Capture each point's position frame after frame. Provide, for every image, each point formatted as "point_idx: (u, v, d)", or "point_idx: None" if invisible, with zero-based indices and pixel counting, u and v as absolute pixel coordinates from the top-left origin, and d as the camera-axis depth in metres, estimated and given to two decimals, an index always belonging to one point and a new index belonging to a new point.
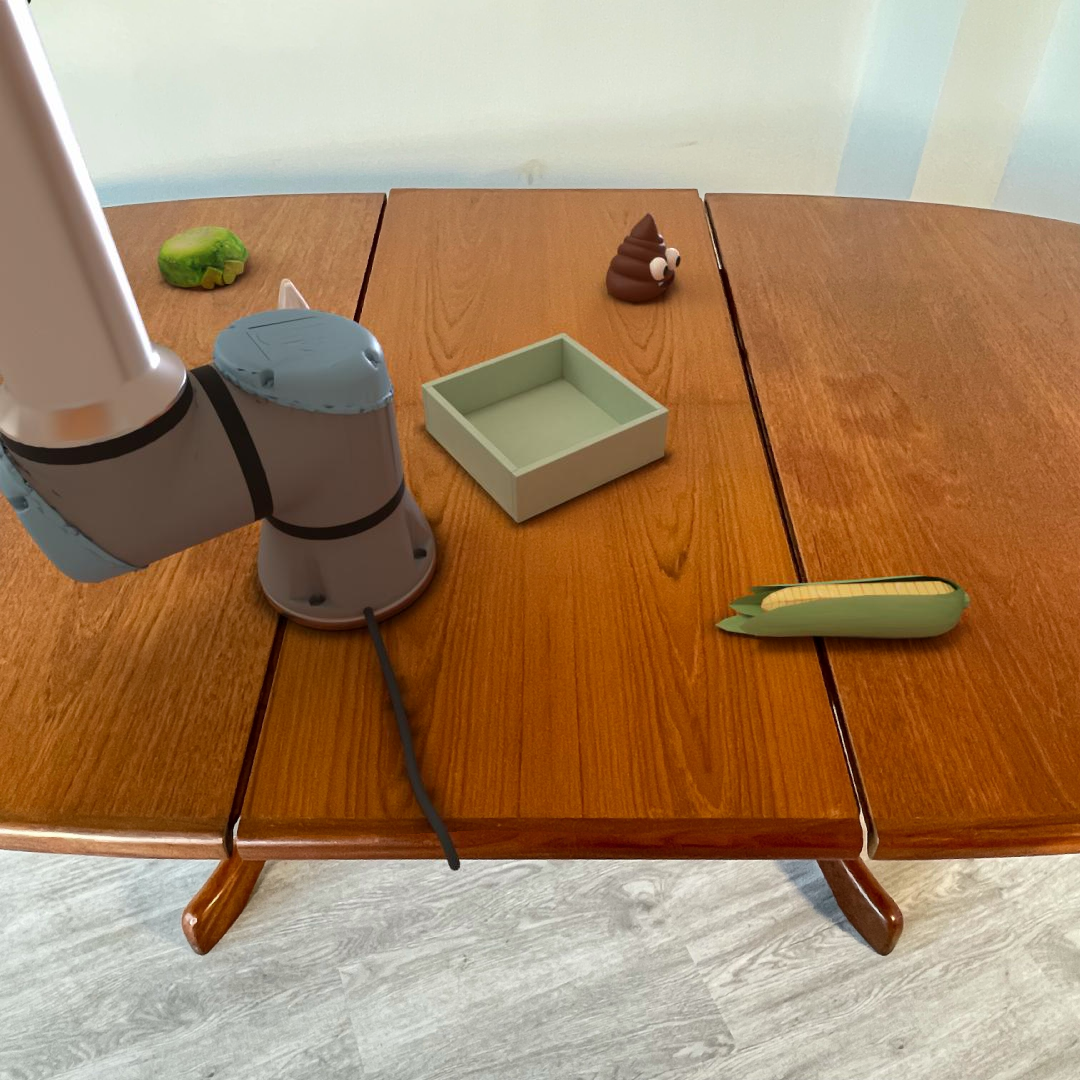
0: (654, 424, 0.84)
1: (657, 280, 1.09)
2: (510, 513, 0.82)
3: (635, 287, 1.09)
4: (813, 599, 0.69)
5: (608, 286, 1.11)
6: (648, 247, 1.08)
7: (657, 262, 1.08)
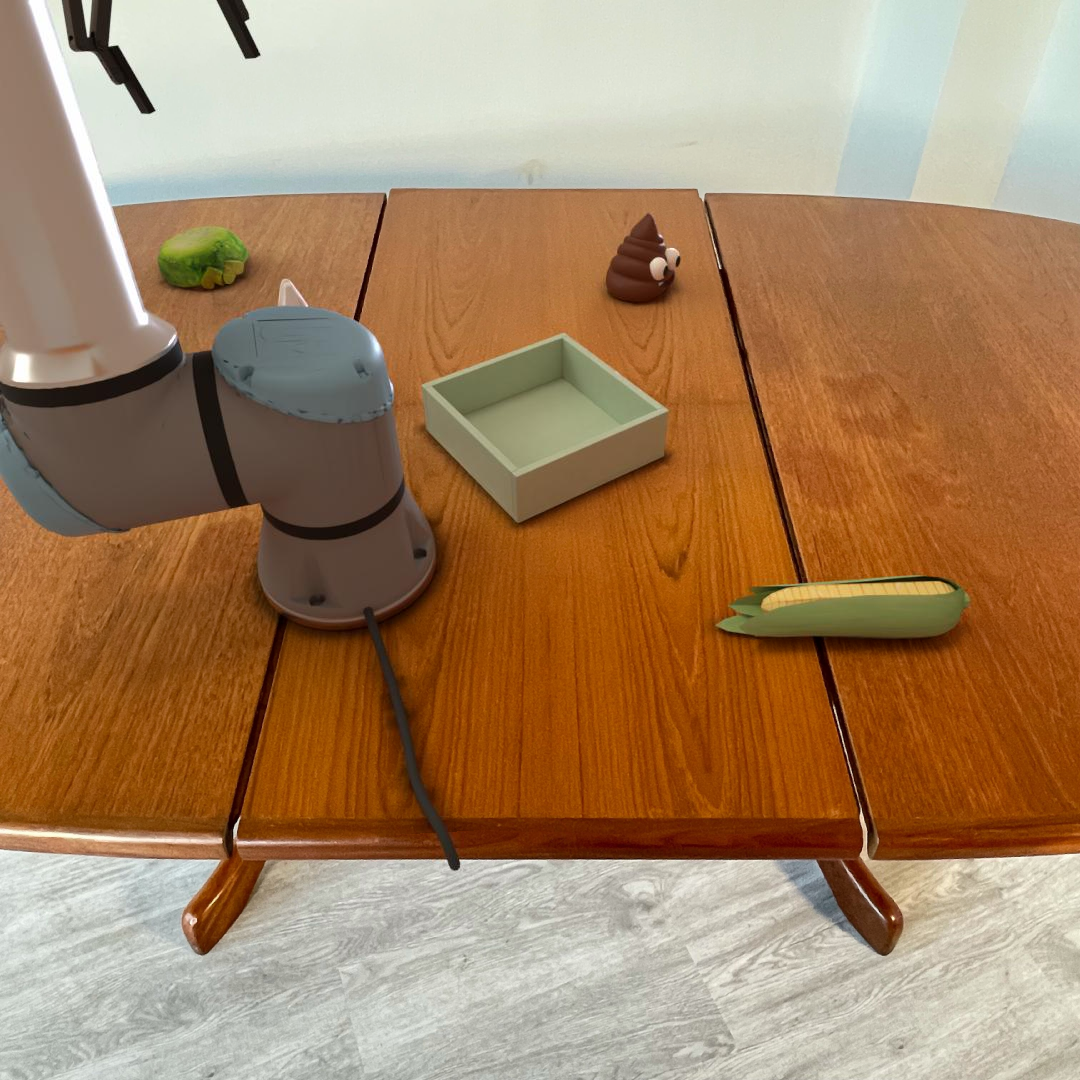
0: (654, 424, 0.84)
1: (657, 280, 1.09)
2: (510, 513, 0.82)
3: (635, 287, 1.09)
4: (813, 600, 0.69)
5: (608, 286, 1.11)
6: (648, 247, 1.08)
7: (657, 262, 1.08)
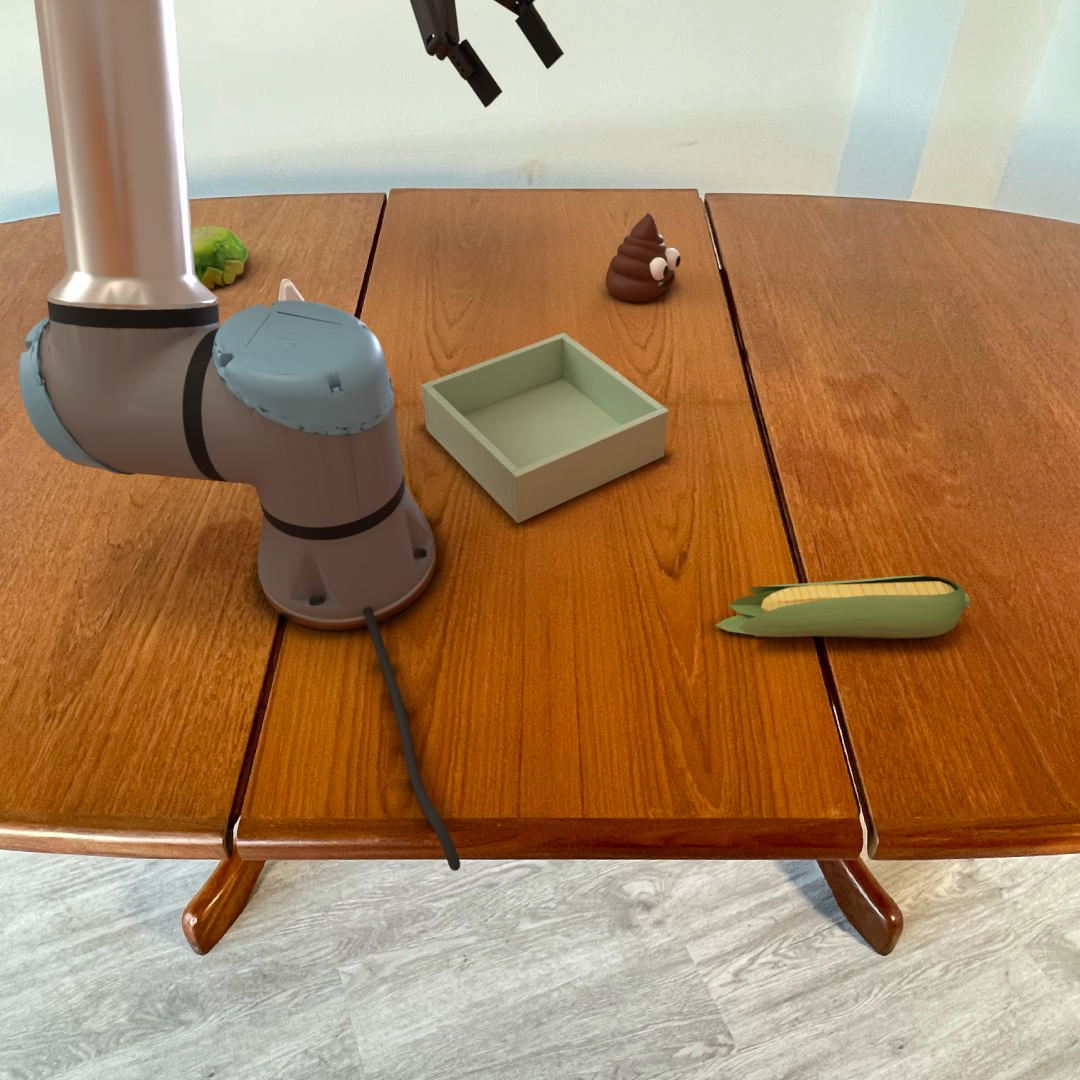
0: (654, 424, 0.84)
1: (657, 280, 1.09)
2: (510, 513, 0.82)
3: (635, 287, 1.09)
4: (814, 600, 0.69)
5: (608, 286, 1.11)
6: (648, 247, 1.08)
7: (657, 262, 1.08)
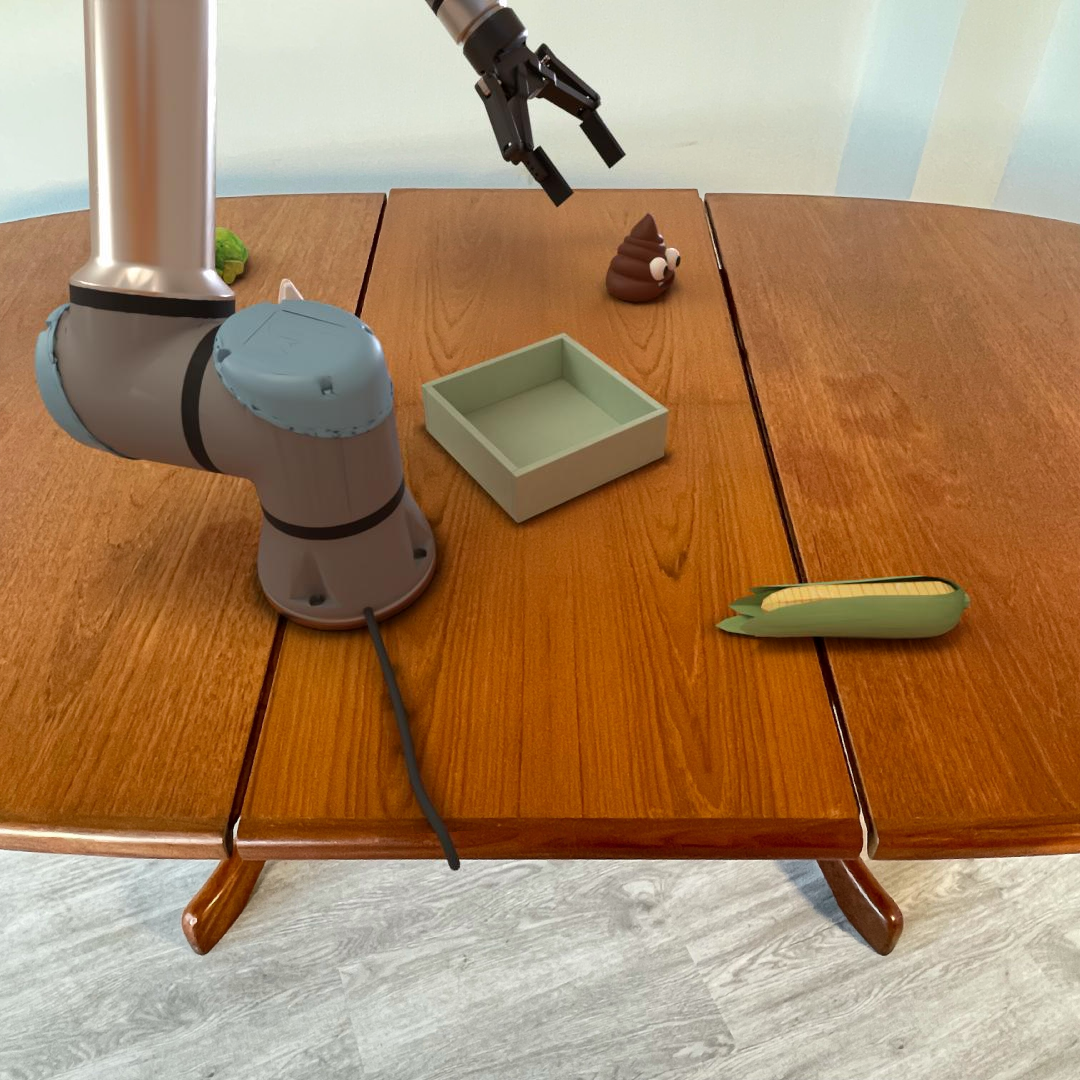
0: (654, 424, 0.84)
1: (657, 280, 1.09)
2: (510, 513, 0.82)
3: (635, 287, 1.09)
4: (814, 600, 0.69)
5: (608, 286, 1.11)
6: (648, 247, 1.08)
7: (657, 262, 1.08)
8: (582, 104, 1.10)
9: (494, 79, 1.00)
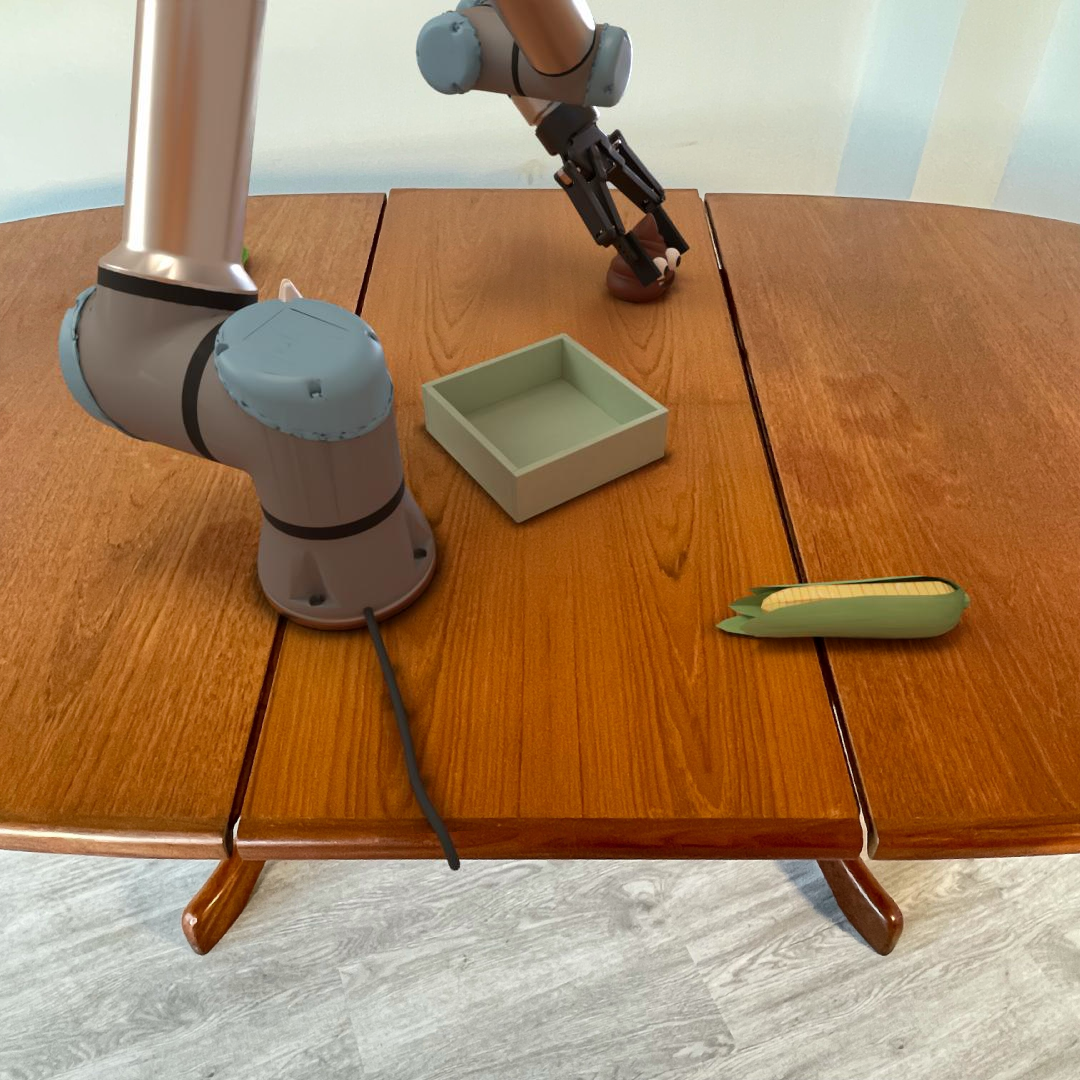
0: (654, 424, 0.84)
1: (657, 280, 1.09)
2: (510, 513, 0.82)
3: (635, 287, 1.09)
4: (814, 600, 0.69)
5: (608, 286, 1.11)
6: (649, 247, 1.08)
7: (658, 262, 1.08)
8: (646, 195, 1.10)
9: (574, 169, 1.02)
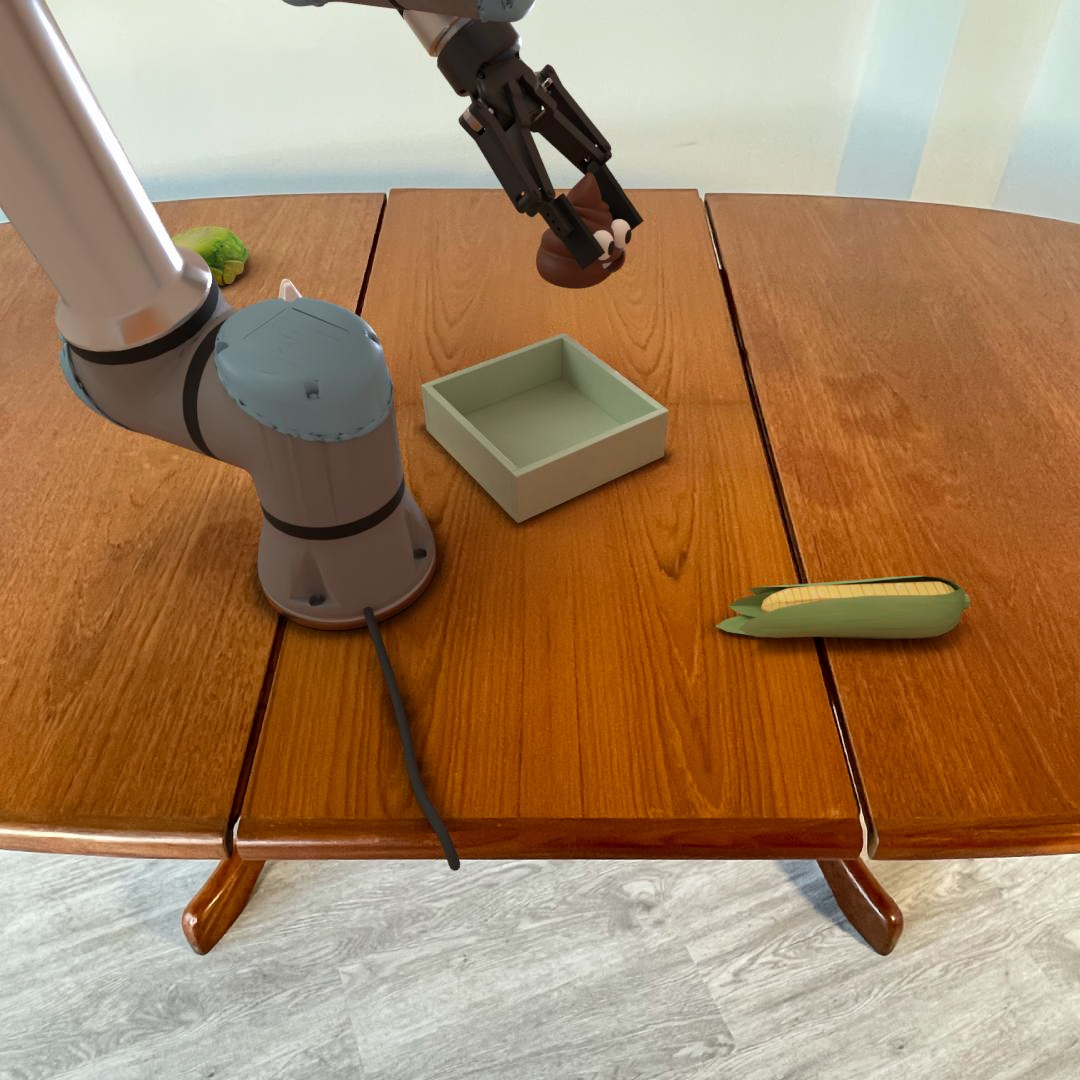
0: (654, 424, 0.84)
1: (601, 260, 0.84)
2: (510, 513, 0.82)
3: (572, 270, 0.84)
4: (814, 600, 0.69)
5: (538, 268, 0.86)
6: (589, 217, 0.82)
7: (600, 236, 0.82)
8: (587, 151, 0.84)
9: (485, 109, 0.76)
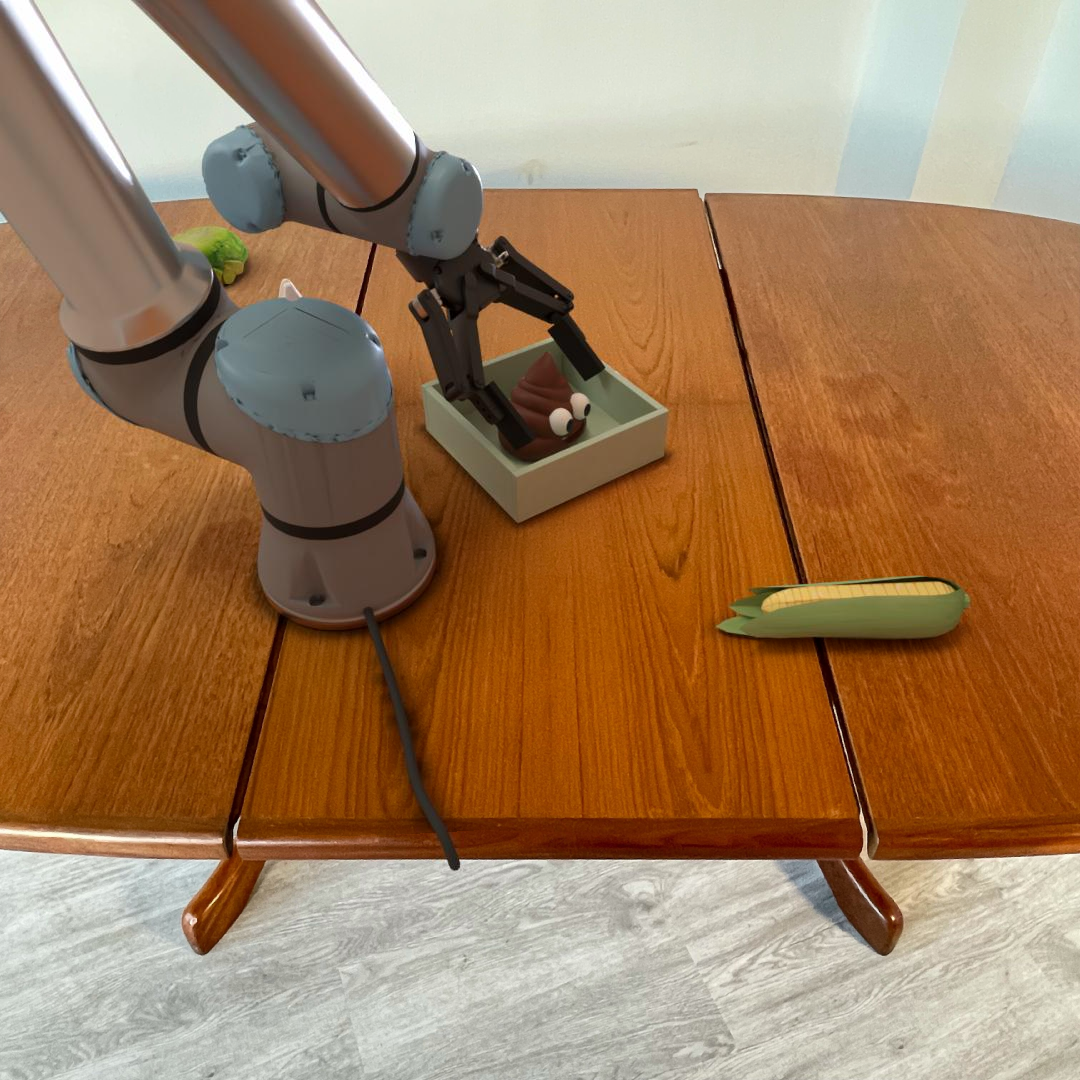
0: (654, 424, 0.84)
1: (560, 435, 0.85)
2: (510, 513, 0.82)
3: (532, 445, 0.85)
4: (814, 601, 0.69)
5: (500, 440, 0.88)
6: (547, 396, 0.84)
7: (558, 415, 0.84)
8: (550, 308, 0.87)
9: (433, 300, 0.78)
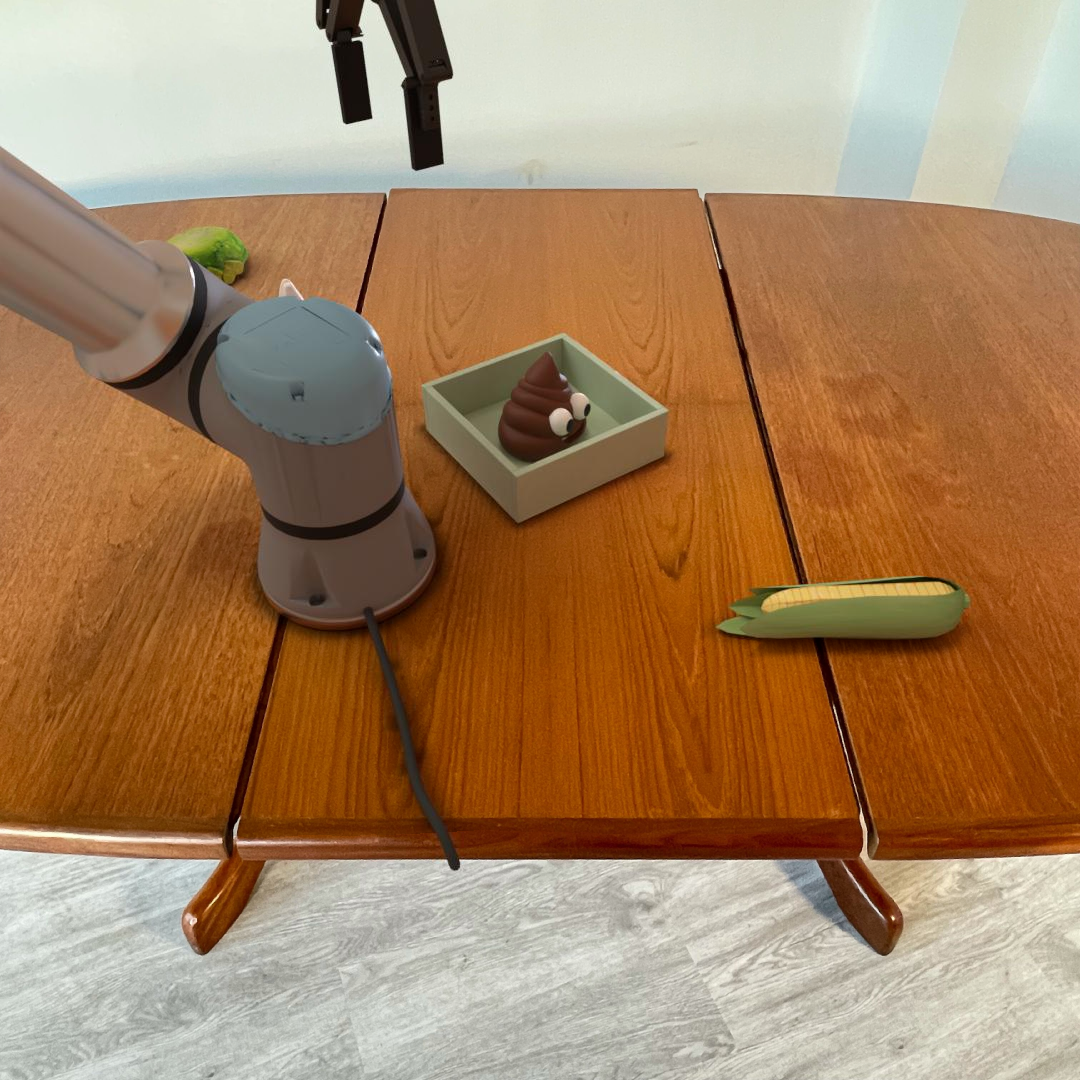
0: (654, 424, 0.84)
1: (560, 436, 0.85)
2: (510, 513, 0.82)
3: (532, 445, 0.85)
4: (814, 601, 0.69)
5: (500, 440, 0.88)
6: (547, 396, 0.84)
7: (558, 415, 0.84)
8: None
9: None
